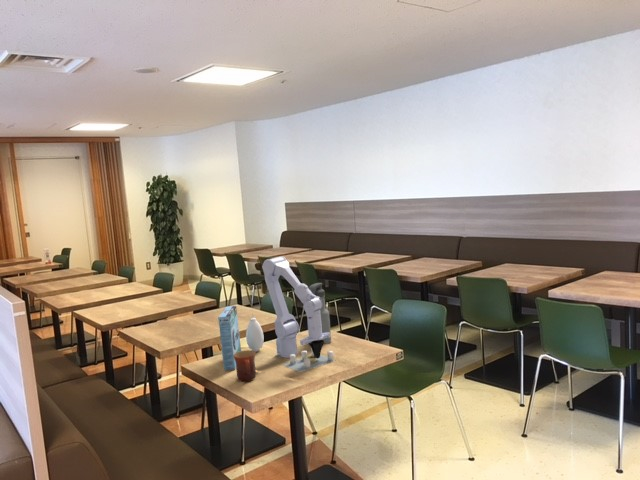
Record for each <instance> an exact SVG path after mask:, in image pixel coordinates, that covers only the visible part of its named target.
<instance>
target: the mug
mask: <svg viewBox="0 0 640 480" xmlns="http://www.w3.org/2000/svg"><path fill="white" fill-rule="evenodd" d="M256 352H257V351H256ZM256 352H255V351H252V350H251V349H249V350H241V351H240V352H237V353H235V354H234V355H233V357H234V359H235V362H236V368H235V370H236V377H237V380H238V381H239V382H242V383H247V382H251V381H253V380H254V379H256V375H257V372H256V370H257V369H256V365H255V364H256V363H255V360H256Z"/></svg>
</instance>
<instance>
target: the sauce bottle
mask: <svg viewBox="0 0 640 480" xmlns="http://www.w3.org/2000/svg"><path fill="white" fill-rule="evenodd" d="M251 316H252V318H249V319H250V320H249V322H248V324H247V327H246V332H245V340H246V341H245V342H246V344H247V346H248V348H249V350H251V351H255V352H258V351H260V350H261V349H262V347H263V345H264V337H265V336H264V332H263V328H262V326H261V324H260V323H259V321H257V318H256V317H254V313H253V312H252V315H251Z"/></svg>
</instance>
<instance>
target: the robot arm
mask: <svg viewBox="0 0 640 480" xmlns="http://www.w3.org/2000/svg"><path fill="white" fill-rule="evenodd" d="M261 268H262V271H263V274H264V280H265V284H266V287H267V290H268V293H269V296H270V300H271V302H272V306H273V308H274V311H275V315H276V319H275V320H274V322H273V324H274V331H275V332H274V333H275V334H276V336H277V338H276V342H275V343H276V344H275V345H276V354H275V357H277V356H280V357H282V358H287V359H290V355H291V354H295V357H297V356H298V344H297V335H298V332H299V330H300V325H299V323H298V321H297V320H296V318H295V316H294V315H293V314H291V313H290V311H289V308H288V307H287V306H288V305H287V303H286V300H285V297H284V294H283V291H282V288H281V284H280V282H279V278H280V276H282V277H283V278H284V279H285V280H286V281H287V282H288V284H289V285H291V287H293V289H294V294H295V295H296V297H297V298H298V299H299V300H300V302H301V303H302V304H303V305H302V306H303V310H304V311H305V315H306V319H307V331H308V336H306V337H304V338H301V339H300V340H299V343H300V345H301V346H305V345H309V347H310V350H311V349H312V351H313V353H314V356H316V358H320V355H321V352H322V349H323V346H324V341H323V340H322V339H324V338H327V337H328V338H329V337H331V338H332V335H331V333H330V332H326V333H322V326H321V312H320V309H321V308H322V306H323V303H322V300H321V298H320V297H318V296H315V295H314V294H313V293H312V292H311V291H310V290H309V286H308V285H307V284H306V283H301V282H300V280H299V279H298V277H297V275H295V273H294V272H293V269H292V268H291V267H290V262H289V261H287V258H286V257H285V256H283V255H280V256H277V257H272V258H267V259H265V260H264V261H263V263H262V266H261Z"/></svg>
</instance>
